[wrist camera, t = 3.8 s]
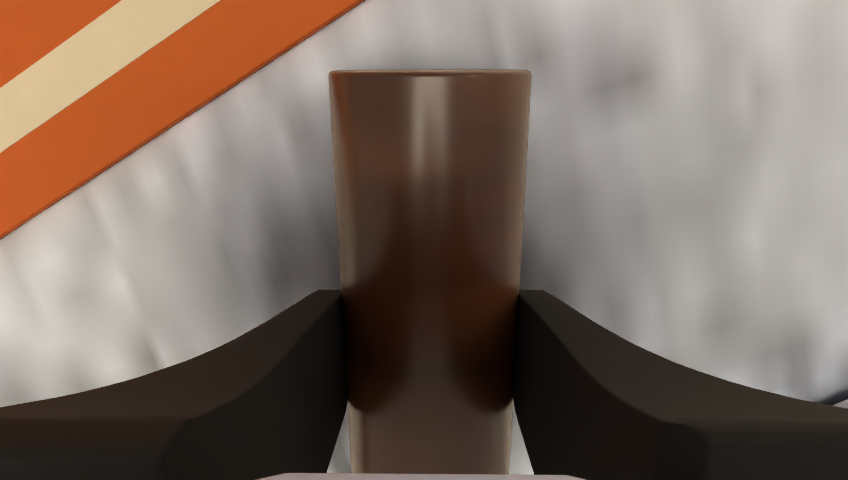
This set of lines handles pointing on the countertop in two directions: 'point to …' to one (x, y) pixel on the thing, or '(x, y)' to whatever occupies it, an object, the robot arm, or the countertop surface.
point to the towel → (121, 79)
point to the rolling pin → (430, 263)
